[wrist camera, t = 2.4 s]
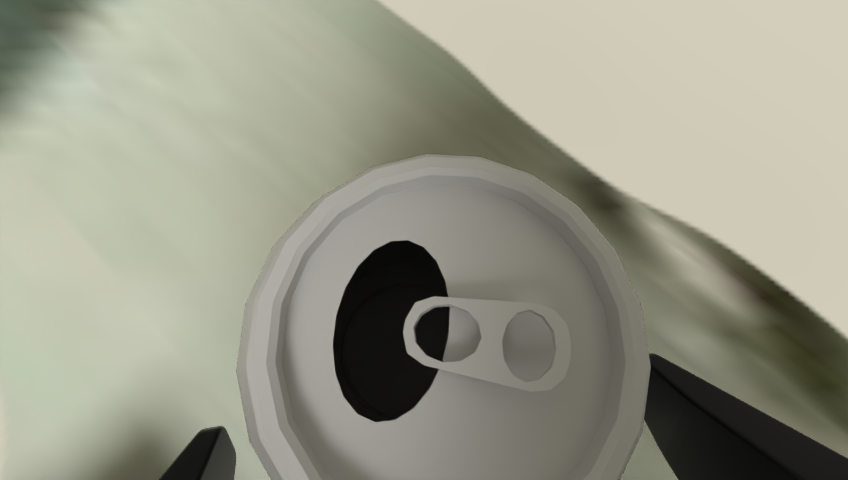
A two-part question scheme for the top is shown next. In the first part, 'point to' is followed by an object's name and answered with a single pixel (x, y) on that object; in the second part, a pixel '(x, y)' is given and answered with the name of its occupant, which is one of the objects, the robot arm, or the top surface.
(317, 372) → the can
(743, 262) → the top surface
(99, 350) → the top surface
